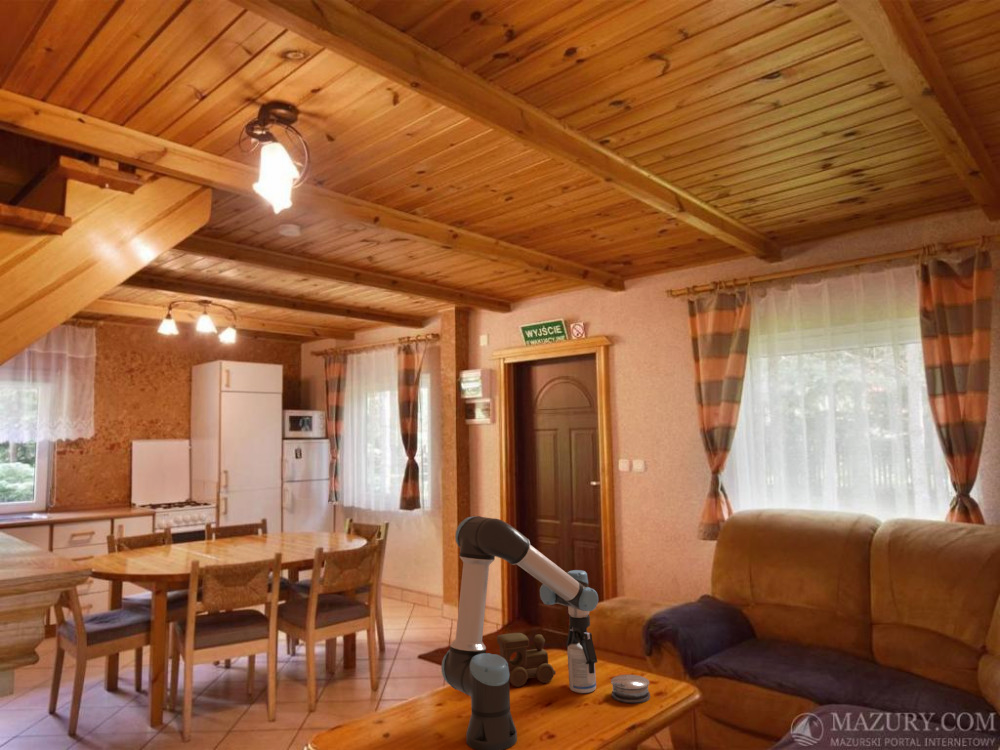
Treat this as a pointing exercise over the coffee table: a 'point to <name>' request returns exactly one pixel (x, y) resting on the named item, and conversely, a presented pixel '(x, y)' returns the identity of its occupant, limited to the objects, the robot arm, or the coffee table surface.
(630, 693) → the duct stub
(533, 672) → the wooden toy train
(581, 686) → the supplement tub
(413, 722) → the coffee table surface
